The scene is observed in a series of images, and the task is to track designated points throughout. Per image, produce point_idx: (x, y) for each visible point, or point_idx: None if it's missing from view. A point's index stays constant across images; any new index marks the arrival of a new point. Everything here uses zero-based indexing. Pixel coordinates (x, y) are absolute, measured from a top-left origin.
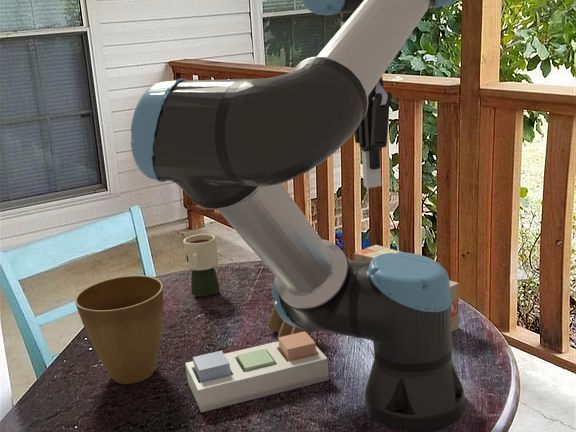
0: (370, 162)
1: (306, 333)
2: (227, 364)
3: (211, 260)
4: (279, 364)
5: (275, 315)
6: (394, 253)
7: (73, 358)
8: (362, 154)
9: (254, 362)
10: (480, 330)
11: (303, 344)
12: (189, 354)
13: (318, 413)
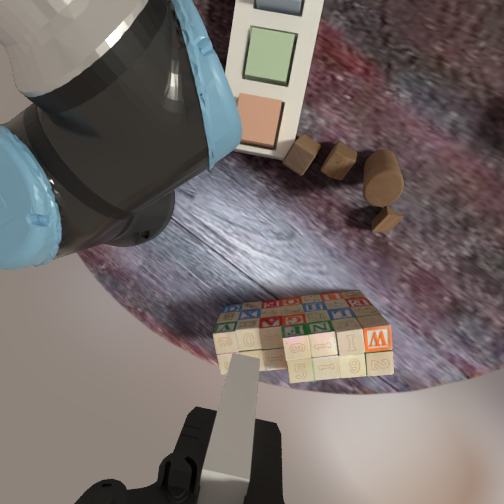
0: (203, 431)
1: (265, 142)
2: None
3: None
4: (238, 80)
5: (379, 155)
6: (332, 367)
7: None
8: (246, 455)
9: (258, 47)
10: (212, 351)
11: None
12: (407, 17)
13: None
